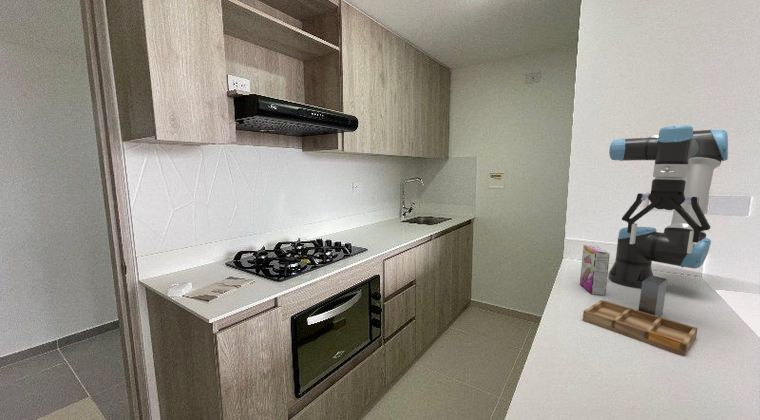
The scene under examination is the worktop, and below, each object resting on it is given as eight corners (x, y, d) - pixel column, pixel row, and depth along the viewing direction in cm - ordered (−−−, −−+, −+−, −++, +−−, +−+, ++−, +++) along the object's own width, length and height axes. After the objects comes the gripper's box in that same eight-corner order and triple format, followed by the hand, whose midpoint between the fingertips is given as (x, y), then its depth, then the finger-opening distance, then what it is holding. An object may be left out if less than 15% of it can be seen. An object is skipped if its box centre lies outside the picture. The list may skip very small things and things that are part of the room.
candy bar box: (578, 284, 129) (582, 244, 127) (592, 285, 128) (596, 245, 126) (590, 294, 118) (595, 251, 116) (605, 296, 117) (610, 252, 115)
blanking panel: (646, 310, 106) (651, 275, 105) (662, 314, 103) (667, 278, 101) (637, 318, 100) (642, 281, 99) (653, 323, 97) (659, 285, 95)
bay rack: (600, 308, 107) (601, 299, 106) (695, 338, 88) (697, 326, 88) (582, 320, 98) (583, 310, 97) (684, 356, 79) (686, 344, 79)
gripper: (615, 177, 103) (607, 241, 106) (728, 180, 84) (715, 259, 86) (623, 177, 108) (615, 239, 111) (731, 180, 88) (719, 255, 91)
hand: (659, 248), depth 98 cm, fingers open, 13 cm apart
